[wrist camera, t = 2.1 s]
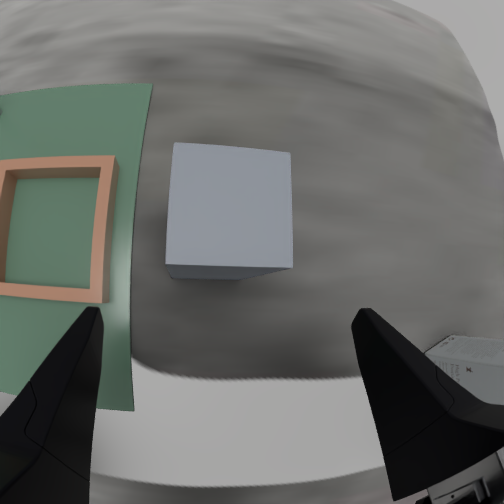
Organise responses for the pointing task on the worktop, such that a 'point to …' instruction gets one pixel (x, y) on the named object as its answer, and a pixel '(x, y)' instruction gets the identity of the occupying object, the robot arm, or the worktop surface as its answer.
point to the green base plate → (68, 225)
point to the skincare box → (473, 365)
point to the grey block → (228, 212)
